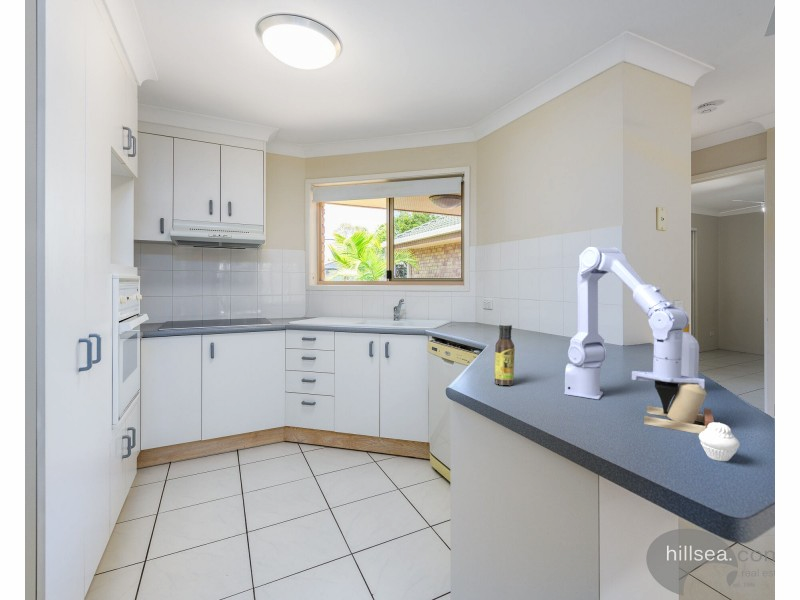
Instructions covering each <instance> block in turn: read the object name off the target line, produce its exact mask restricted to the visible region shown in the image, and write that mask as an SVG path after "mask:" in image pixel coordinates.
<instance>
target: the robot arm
mask: <svg viewBox="0 0 800 600" xmlns="http://www.w3.org/2000/svg"><path fill="white" fill-rule="evenodd" d="M578 257H579V258H578V259H579V267H578V271H577V276H576V278H577V279H576V281H577V288H576V290H577V291H576V292H577V332H576V334H575V335H573V336H572V337H571V339H570V340H569V341H570V342H569V343H570V345H569V347H568V349H567V350H568V351H567V356H568V359H569V361H570V362H571V363H567V364H566V366H565V370H564V371H565V372H564V393H563V394H564V395H567V396H575V397H578V398H579V397H581V398H588V399H593V400H599V399H600V398H601V397H602V395H603V394H604V391H601V367H602V366H603V362H605V360H606V359H607V357H608V356H607V355H608V352H607V349H606V346H605V339H604V338H603V337H602V335H600V334H599V294H598V293H599V290H598V289H599V284H598V283H599V282H598V281H600V279H601V278H603V276H605V275H606V274H608V273H613V274H614V275H615V276H616V277H617V278H618V279H619V280H620V281H622V283H623V284H624V285H625V286H627V288H628V289H629V290H631V292H632V299H633V301H634V302H635V304H636V305H637V306H639V308H640V309H641V310H642V311H643V312H644V313H645V315H646V316H647V317H648V319H647V321H648V325H649V327H650V328H651V331H652V337H653V360H652V361H653V362H652V371H639V370H638V371H637V370H632V371H631V380H632V381H643V382H644V381H645V382H653V383H654V388H655V391H656V392H657V394H658V396H659V398H660V402H661V405H662V408H663V411H664V414H667V411H668V409H669V407H670V404H671V402H672V399H673V397H674V395H675V393H676V391H677V389H678V385H679V384H680V383H683V382H685V383H691V384H693V385H694V384H697V385H699V386H701V387H702V389H704V390H705V382H706V380H705V378H700V377H698V378H694V377H688V376H682V375H681V368H682V342H683V330H684V329H685V328H686V327H687V326H688V324H690V318H689V315H688V313H687V312H686V310H685V309H684V308H682V307H679V306H678V307H677V306H674V303H673V302H672V301H669V300H668V298H666V296H664V295H663V293H662V292H661V288H660V287H659V286H658V285H657V286H655V285H653V284H646V283H645V281H643V279H642V277H640V276H639V274H638V273H637V272H636V270H635V269H634V268H633V267H632V266H631V264H630V263H629V262H628V261H627V256H626V254H624V253H623V252H622V251H621V250H620V249H619V248H618V247H595V246H588V247H587V248H585V249H584V250H583V251H582V252H581V254H579V256H578Z"/></svg>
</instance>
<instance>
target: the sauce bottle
mask: <svg viewBox="0 0 800 600" xmlns="http://www.w3.org/2000/svg"><path fill="white" fill-rule="evenodd" d="M498 329H499V336H498V340H497V341H496V344H495V349H494V350H495V352H494V371H493V373H494V375H493V376H494V384H495V383H496V384H495V385H498V384H499V385H498V386H503V385H509V386H512V385H513V384H514V378H515V344H514V342H513V340H512V329H513V325H512V324H507V323H501V324H499V326H498Z"/></svg>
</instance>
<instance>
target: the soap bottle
mask: <svg viewBox="0 0 800 600" xmlns="http://www.w3.org/2000/svg"><path fill="white" fill-rule="evenodd" d="M699 359H700V345H699V341H698V340H697V339H696V338H695V336H694V335H693V334H690V323H688V326H687V327H686V328H685V329H684V330H683V342H682V368H681V375H682V376H688V377H694V378H699V366H700V365H699V364H700V363H699V361H700V360H699Z"/></svg>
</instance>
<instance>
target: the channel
mask: <svg viewBox="0 0 800 600" xmlns="http://www.w3.org/2000/svg"><path fill="white" fill-rule="evenodd" d="M667 412H668V411H667ZM712 412H713V411H712V408H707V407H704V408H703V414H702V413H698V415H697V418H696V420H695V422H700V423H703V425H699V424H695V423H694V424H690V423H684V422H678V421H673V420H671V419H670V420H669V419H664V418H659V417H653V416H646V415H644V417H643V418H644V419H643V421H644V422H643V423H644V425H648V426H653V427H659V428H664V429H671V430H676V431H683V432H688V433H693V434H698V435H699V434H700V433H701V432H702V431H705V429H706V428H707V426H708V424H710V423H713V422H715V420H714V417H713V416H714V415H713V413H712ZM646 414H650V415H657V416H662V417H667V414H664V411H663V407H657V406H651V405H647V407H646Z"/></svg>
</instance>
